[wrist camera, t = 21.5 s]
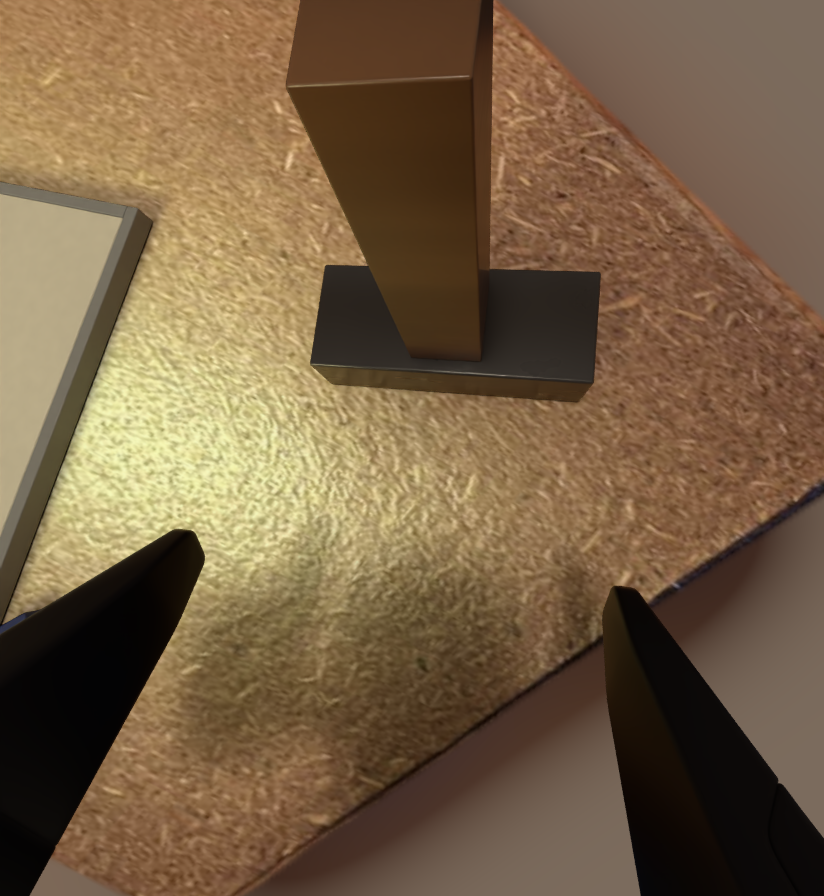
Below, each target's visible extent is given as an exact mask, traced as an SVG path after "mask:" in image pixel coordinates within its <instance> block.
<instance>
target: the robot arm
mask: <svg viewBox="0 0 824 896" xmlns="http://www.w3.org/2000/svg"><path fill="white" fill-rule="evenodd" d="M204 561H205V554H204V552H203V549H202V547H201V545H200V542H199V540H198V538H197V536H196V534H195V532H193V531H191V530H185V529H174V530H172V531H170V532H168V533H167V534H165V535H163V536H162V537H160V538H158V539H157V540H155V541H154V542H152V543H150V544H149V545H147V546H145V547H144V548H142V549H140V550H139V551H137V552H135V553H134V554H132V555H130V556H129V557H127V558H125V559H124V560H122V561H120V562H119V563H117V564H115V565H114V566H112V567H110V568H109V569H107V570H105V571H104V572H102V573H100V574H99V575H97V576H96V577H94V578H92V579H91V580H89V581H87V582H86V583H84V584H82V585H81V586H79V587H77V588H76V589H74V590H72V591H71V592H69V593H67V594H66V595H64V596H62V597H61V598H59V599H57V600H56V601H54V602H52V603H51V604H49V605H47V606H46V607H44V608H42V609H41V610H39V611H38V612H36V613H34V614H33V615H31V616H29V617H28V618H26V619H24V620H23V621H21V622H19V623H18V624H16V625H14V626H13V627H11V628H9V629H8V630H6V631H4V632H3V633H1V634H0V896H30V893H31V892H32V890H33V888H34V886H35V885H36V883H37V881H38V879H39V877H40V876H41V874H42V872H43V870H44V868H45V867H46V865H47V863H48V861H49V859H50V857H51V856H52V854H53V852H54V850H55V848H56V845H57V844H58V842H59V841H60V839H61V837H62V835H63V833H64V831H65V830H66V828H67V826H68V824H69V822H70V820H71V819H72V817H73V815H74V813H75V811H76V810H77V808H78V806H79V804H80V802H81V800H82V799H83V797H84V795H85V793H86V791H87V790H88V788H89V786H90V784H91V782H92V780H93V779H94V777H95V775H96V773H97V771H98V770H99V768H100V766H101V764H102V762H103V760H104V759H105V757H106V755H107V753H108V751H109V750H110V748H111V746H112V744H113V742H114V740H115V739H116V737H117V735H118V733H119V731H120V730H121V728H122V726H123V724H124V722H125V720H126V719H127V717H128V715H129V713H130V711H131V710H132V708H133V706H134V704H135V702H136V700H137V699H138V697H139V695H140V693H141V691H142V690H143V688H144V686H145V684H146V682H147V680H148V679H149V677H150V675H151V673H152V671H153V670H154V668H155V666H156V664H157V662H158V660H159V659H160V657H161V655H162V653H163V651H164V650H165V648H166V646H167V644H168V642H169V640H170V639H171V637H172V635H173V633H174V631H175V629H176V627H177V625H178V623H179V621H180V619H181V617H182V614H183V612H184V610H185V607H186V605H187V603H188V600H189V598H190V596H191V593H192V591H193V589H194V586H195V584H196V582H197V579H198V577H199V575H200V572H201V570H202V568H203V565H204ZM602 626H603V643H604V658H605V677H606V692H607V702H608V709H609V716H610V721H611V727H612V732H613V739H614V744H615V750H616V756H617V761H618V767H619V773H620V779H621V785H622V790H623V796H624V802H625V808H626V813H627V819H628V824H629V831H630V836H631V842H632V848H633V854H634V859H635V865H636V870H637V877H638V882H639V888H640V894H641V896H824V838H823V837H822V835H821V834H820V833H819V832H818V830H817V829H816V828H815V826H814V825H813V824H812V823H811V821H810V820H809V819H808V817H807V816H806V815H805V813H804V812H803V811H802V810H801V808H800V807H799V806H798V804H797V803H796V802H795V800H794V799H793V798H792V796H791V795H790V794H789V792H788V791H787V790H786V788H785V787H784V786H783V785H782V784H780V783H778V778H777V776H776V775H775V774H774V772H773V771H772V770H771V768H770V767H769V766H768V764H767V763H766V762H765V761H764V759H763V758H762V756H761V755H760V754H759V752H758V751H757V750H756V748H755V747H754V746H753V744H752V743H751V742H750V740H749V739H748V738H747V736H746V735H745V734H744V732H743V731H742V730H741V728H740V727H739V726H738V724H737V723H736V722H735V720H734V719H733V718H732V716H731V715H730V714H729V712H728V711H727V710H726V708H725V707H724V706H723V704H722V703H721V702H720V700H719V699H718V698H717V696H716V695H715V694H714V692H713V691H712V689H711V688H710V687H709V685H708V684H707V683H706V682H705V680H704V679H703V677H702V676H701V675H700V673H699V672H698V671H697V670H696V668H695V667H694V666H693V664H692V663H691V661H690V660H689V659H688V657H687V656H686V655H685V653H684V652H683V651H682V650H681V648H680V647H679V645H678V644H677V643H676V641H675V640H674V639H673V638H672V636H671V635H670V633H669V632H668V631H667V629H666V628H665V627H664V626H663V624H662V623H661V621H660V620H659V619H658V617H657V616H656V615H655V613H654V612H653V611H652V609H651V608H650V607H649V605H648V604H647V603H646V601H645V600H644V599H643V597H642V596H641V595H640V593H639V592H638V591H637V590H636V589H634V588H631V587H624V586H613V587H612V588H611V590H610V593H609V596H608V598H607V601H606V604H605V607H604V610H603V616H602Z"/></svg>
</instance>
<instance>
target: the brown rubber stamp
mask: <svg viewBox="0 0 824 896" xmlns="http://www.w3.org/2000/svg"><path fill="white" fill-rule="evenodd" d="M492 59H493V0H300V6H299V11H298V17H297V23H296V28H295V34H294V40H293V45H292V51H291V57H290V63H289V68H288V74H287V80H286V89H287V91H288V93H289V95H290V97H291V100H292V102H293V104H294V106H295V108H296V110H297V112H298V115H299V117H300V119H301V121H302V123H303V125H304V128H305V130H306V132H307V134H308V136H309V138H310V141H311V143H312V145H313V147H314V149H315V151H316V154H317V156H318V158H319V160H320V162H321V164H322V166H323V169H324V171H325V173H326V175H327V177H328V179H329V182H330V184H331V186H332V188H333V190H334V192H335V195H336V197H337V199H338V201H339V203H340V205H341V208H342V210H343V212H344V214H345V216H346V218H347V220H348V223H349V225H350V227H351V229H352V231H353V233H354V236H355V238H356V240H357V242H358V244H359V246H360V249H361V251H362V253H363V255H364V257H365V259H366V262H367V264H368V266H350V265H326V266H325V270H324V276H323V283H322V289H321V296H320V302H319V309H318V315H317V322H316V328H315V335H314V342H313V348H312V355H311V361H310V364H311V366H312V367H313V368H314V369H316V370H317V371H318V372H319V373H320V374H321V375H322V376H324V377H325V378H326V379H327V380H328V381H329V382H330V383H332V384H339V385H353V386H367V387H381V388H395V389H408V390H422V391H436V392H450V393H463V394H477V395H491V396H505V397H518V398H532V399H546V400H560V401H573V402H578V401H580V399H581V398H582V397H583V396H584V394H585V393H586V392H587V391H588V389H589V388H590V387H591V385H592V384H593V382H594V372H595V357H596V342H597V327H598V312H599V297H600V281H601V274H600V272H582V271H543V270H504V269H490V206H491V133H492Z"/></svg>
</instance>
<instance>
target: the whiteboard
mask: <svg viewBox="0 0 824 896" xmlns="http://www.w3.org/2000/svg"><path fill="white" fill-rule="evenodd" d="M151 225H152V220H151V219H150V218H148V217H147V216H146V215H145V214H144V213H143V212H142V211H141V210H140V209H138V208H135V207H130V206H124V205H119V204H114V203H109V202H103V201H98V200H93V199H88V198H82V197H77V196H72V195H67V194H62V193H56V192H51V191H46V190H41V189H36V188H30V187H25V186H20V185H15V184H9V183H4V182H0V624H1V622H2V619H3V616H4V614H5V611H6V609H7V606H8V603H9V601H10V598H11V595H12V593H13V590H14V587H15V585H16V582H17V579H18V577H19V574H20V571H21V569H22V566H23V564H24V561H25V558H26V556H27V553H28V550H29V548H30V545H31V542H32V540H33V537H34V534H35V532H36V529H37V526H38V524H39V521H40V519H41V516H42V513H43V511H44V508H45V505H46V503H47V500H48V497H49V495H50V492H51V489H52V487H53V484H54V481H55V479H56V476H57V474H58V471H59V468H60V466H61V463H62V460H63V458H64V455H65V452H66V450H67V447H68V444H69V442H70V439H71V436H72V434H73V431H74V429H75V426H76V423H77V421H78V418H79V415H80V413H81V410H82V407H83V405H84V402H85V399H86V397H87V394H88V391H89V389H90V386H91V384H92V381H93V378H94V376H95V373H96V370H97V368H98V365H99V362H100V360H101V357H102V354H103V352H104V349H105V346H106V344H107V341H108V339H109V336H110V333H111V331H112V328H113V325H114V323H115V320H116V317H117V315H118V312H119V309H120V307H121V304H122V301H123V299H124V296H125V294H126V291H127V288H128V286H129V283H130V280H131V278H132V275H133V272H134V270H135V267H136V264H137V262H138V259H139V256H140V254H141V251H142V249H143V246H144V243H145V241H146V238H147V235H148V233H149V230H150V227H151Z"/></svg>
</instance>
